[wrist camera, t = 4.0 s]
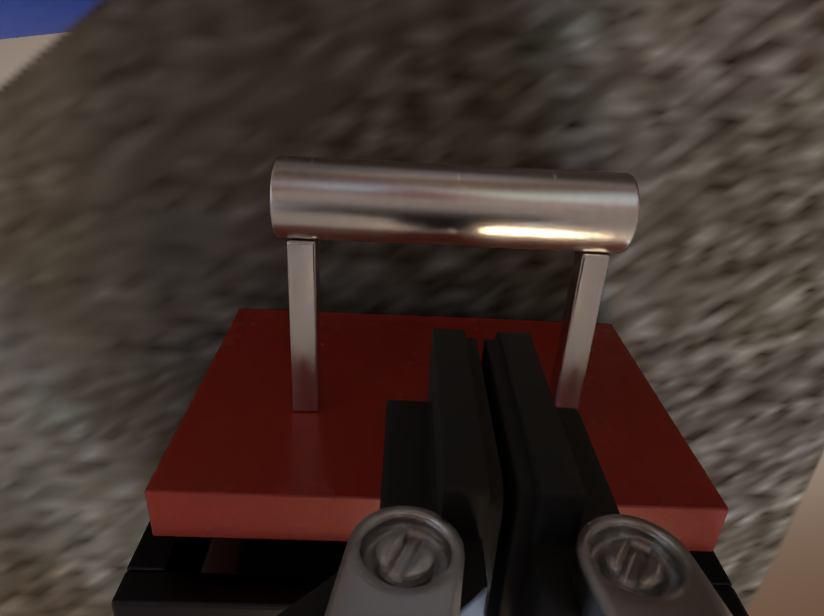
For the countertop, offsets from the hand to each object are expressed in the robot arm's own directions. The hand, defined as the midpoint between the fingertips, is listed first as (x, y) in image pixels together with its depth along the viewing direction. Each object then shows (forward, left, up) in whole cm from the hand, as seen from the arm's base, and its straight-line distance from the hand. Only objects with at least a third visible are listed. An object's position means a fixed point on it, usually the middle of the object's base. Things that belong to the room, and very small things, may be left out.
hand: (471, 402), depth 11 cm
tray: (0, -6, -8) cm, 10 cm away
